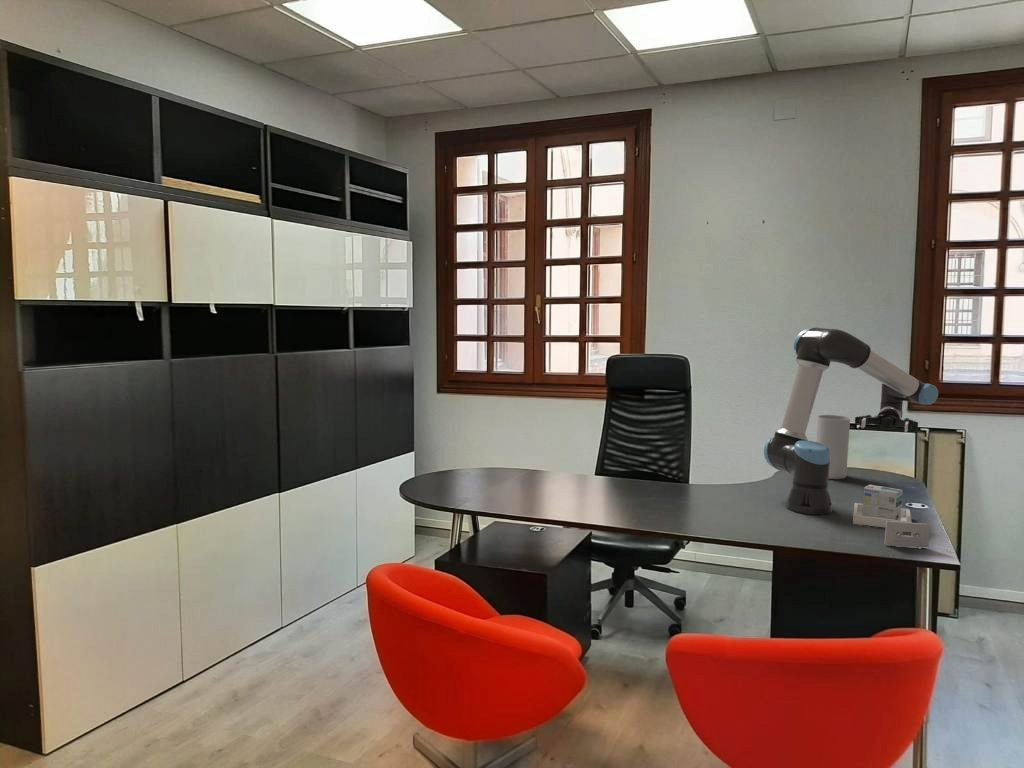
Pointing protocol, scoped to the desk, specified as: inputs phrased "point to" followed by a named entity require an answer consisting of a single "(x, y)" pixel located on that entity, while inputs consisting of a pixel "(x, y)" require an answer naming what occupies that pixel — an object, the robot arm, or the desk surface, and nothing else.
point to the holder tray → (876, 521)
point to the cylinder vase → (834, 442)
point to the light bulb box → (882, 502)
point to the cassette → (904, 540)
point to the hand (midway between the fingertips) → (884, 426)
